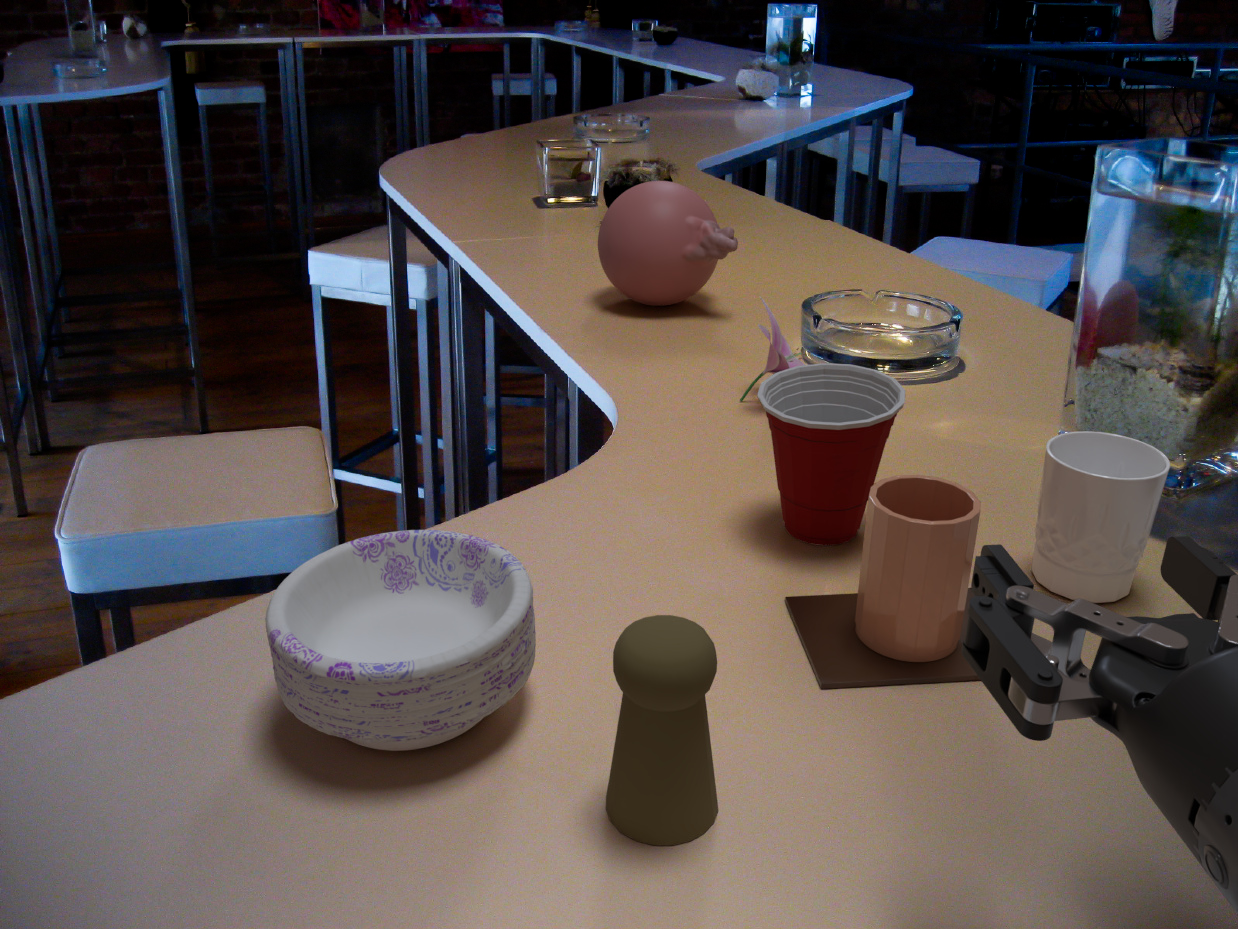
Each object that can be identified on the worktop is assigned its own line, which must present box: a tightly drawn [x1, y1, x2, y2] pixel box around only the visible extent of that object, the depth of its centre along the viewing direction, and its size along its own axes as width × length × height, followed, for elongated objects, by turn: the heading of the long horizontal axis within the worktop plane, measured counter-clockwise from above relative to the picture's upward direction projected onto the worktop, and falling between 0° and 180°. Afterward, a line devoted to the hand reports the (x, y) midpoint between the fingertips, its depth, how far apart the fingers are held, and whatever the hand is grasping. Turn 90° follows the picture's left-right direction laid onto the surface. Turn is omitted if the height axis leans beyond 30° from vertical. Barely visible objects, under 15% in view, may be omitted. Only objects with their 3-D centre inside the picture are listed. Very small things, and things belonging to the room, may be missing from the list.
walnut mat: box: [784, 587, 981, 690], centre depth 72 cm, size 14×10×1 cm
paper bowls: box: [264, 529, 537, 752], centre depth 64 cm, size 15×15×8 cm
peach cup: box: [855, 474, 982, 662], centre depth 70 cm, size 7×7×10 cm
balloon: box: [597, 180, 739, 307], centre depth 135 cm, size 15×20×15 cm
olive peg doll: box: [605, 614, 719, 846], centre depth 56 cm, size 6×6×11 cm
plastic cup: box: [756, 362, 907, 547], centre depth 83 cm, size 11×11×12 cm
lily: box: [739, 296, 806, 402], centre depth 108 cm, size 12×12×10 cm
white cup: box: [1031, 430, 1171, 604], centre depth 76 cm, size 8×8×10 cm
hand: (1079, 557), depth 48 cm, fingers open, 8 cm apart
